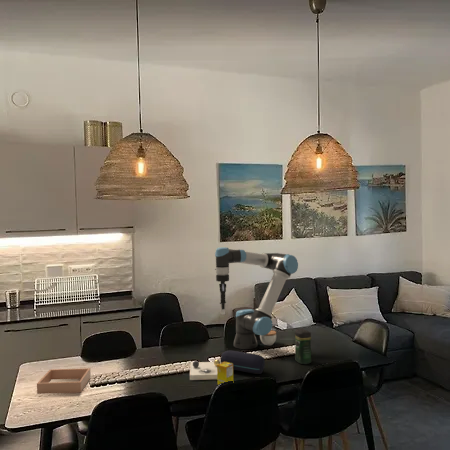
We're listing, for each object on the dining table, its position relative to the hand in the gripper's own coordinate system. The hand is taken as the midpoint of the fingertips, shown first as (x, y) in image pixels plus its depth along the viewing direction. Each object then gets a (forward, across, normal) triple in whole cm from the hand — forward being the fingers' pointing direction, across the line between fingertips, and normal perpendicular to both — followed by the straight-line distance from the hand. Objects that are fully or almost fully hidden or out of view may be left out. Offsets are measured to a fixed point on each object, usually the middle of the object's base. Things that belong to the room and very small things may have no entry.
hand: (223, 314), depth 278 cm
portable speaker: (+27, +21, +10) cm, 35 cm away
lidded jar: (+27, -28, +30) cm, 49 cm away
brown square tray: (+26, +34, -82) cm, 93 cm away
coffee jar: (+27, +9, +45) cm, 53 cm away
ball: (+25, +27, -10) cm, 38 cm away
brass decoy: (+22, +19, -4) cm, 30 cm away
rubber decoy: (+22, +20, -16) cm, 34 cm away
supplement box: (+27, +41, -1) cm, 49 cm away
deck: (+26, +23, -10) cm, 36 cm away
